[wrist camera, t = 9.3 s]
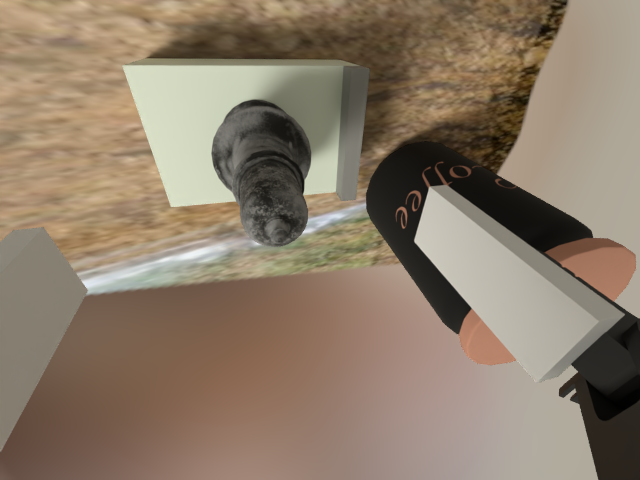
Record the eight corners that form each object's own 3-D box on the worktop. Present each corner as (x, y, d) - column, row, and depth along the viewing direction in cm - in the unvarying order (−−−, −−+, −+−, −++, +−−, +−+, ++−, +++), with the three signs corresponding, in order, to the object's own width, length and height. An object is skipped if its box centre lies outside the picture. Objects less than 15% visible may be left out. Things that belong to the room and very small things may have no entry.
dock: (181, 179, 25) (167, 218, 20) (145, 58, 19) (112, 68, 14) (333, 168, 27) (355, 199, 22) (339, 59, 22) (370, 68, 17)
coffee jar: (453, 121, 27) (677, 216, 14) (450, 208, 34) (597, 330, 20) (353, 159, 27) (473, 294, 13) (369, 238, 34) (461, 383, 20)
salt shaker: (227, 185, 21) (219, 311, 11) (203, 99, 17) (162, 180, 8) (304, 174, 22) (355, 282, 12) (297, 90, 18) (360, 152, 9)
